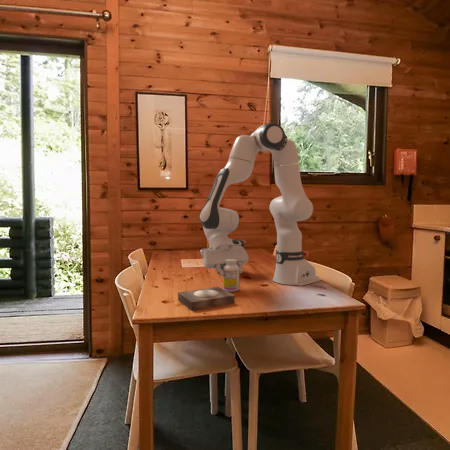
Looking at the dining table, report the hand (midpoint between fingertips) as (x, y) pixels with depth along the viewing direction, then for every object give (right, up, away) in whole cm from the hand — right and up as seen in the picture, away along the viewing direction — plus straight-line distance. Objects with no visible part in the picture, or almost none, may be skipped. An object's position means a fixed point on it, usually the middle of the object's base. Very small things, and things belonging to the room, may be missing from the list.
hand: (232, 273), depth 142 cm
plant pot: (-1, -4, +33) cm, 33 cm away
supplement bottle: (0, -7, +1) cm, 7 cm away
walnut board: (-10, -8, -14) cm, 19 cm away
